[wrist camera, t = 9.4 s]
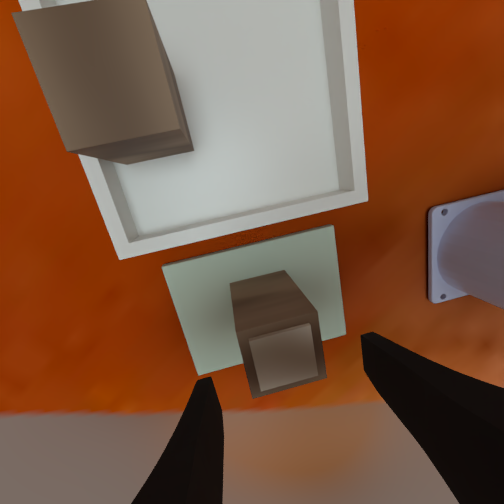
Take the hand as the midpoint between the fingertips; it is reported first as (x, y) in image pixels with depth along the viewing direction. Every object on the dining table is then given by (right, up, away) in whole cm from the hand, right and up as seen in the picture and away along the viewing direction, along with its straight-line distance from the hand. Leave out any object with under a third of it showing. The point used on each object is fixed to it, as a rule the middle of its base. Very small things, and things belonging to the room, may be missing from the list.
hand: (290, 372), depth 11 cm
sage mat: (-1, +2, +7) cm, 8 cm away
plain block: (-8, +13, +3) cm, 15 cm away
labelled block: (-1, +2, +6) cm, 7 cm away
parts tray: (-4, +14, +3) cm, 15 cm away
